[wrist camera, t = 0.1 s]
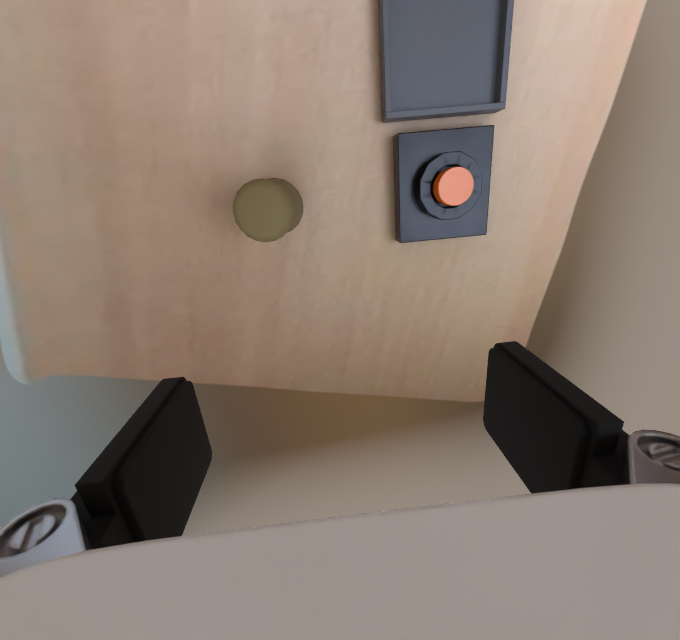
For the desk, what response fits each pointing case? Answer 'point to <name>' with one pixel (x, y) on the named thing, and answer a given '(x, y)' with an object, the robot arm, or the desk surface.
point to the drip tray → (443, 57)
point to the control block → (420, 172)
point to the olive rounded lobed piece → (267, 209)
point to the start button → (453, 186)
